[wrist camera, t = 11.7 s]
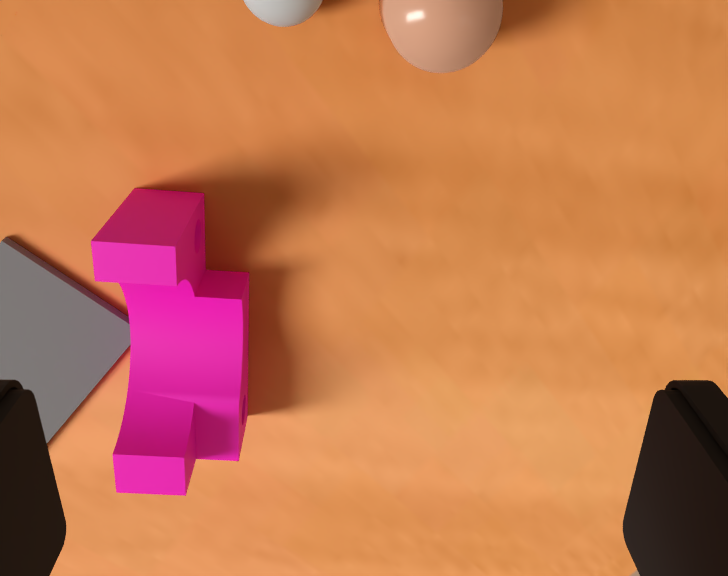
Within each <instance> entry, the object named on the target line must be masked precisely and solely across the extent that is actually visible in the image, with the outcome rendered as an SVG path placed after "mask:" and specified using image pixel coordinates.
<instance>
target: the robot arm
mask: <svg viewBox="0 0 728 576" xmlns="http://www.w3.org/2000/svg"><path fill="white" fill-rule="evenodd" d="M623 534H624V539H625V543H626V545H627V548H628V550H629V552H630V554H631V557H632V559H633V561H634V563H635V565H636V568H637V570H638V572H639V574H640V576H728V398H727V397H726V396H725V394H724V393H723V392H722V391H721V390H720V388H719V387H718V386H717V385H716V384H715V383H714V382H712V381H708V380H673V381H671V382H669V383H668V385H667V386H666V388H665V390H659V391H657V392H656V394H655V396H654V399H653V403H652V407H651V411H650V415H649V419H648V423H647V427H646V431H645V435H644V439H643V443H642V447H641V451H640V455H639V459H638V463H637V467H636V471H635V475H634V479H633V483H632V487H631V491H630V495H629V499H628V503H627V507H626V511H625V515H624V520H623ZM65 536H66V521H65V517H64V512H63V508H62V504H61V500H60V496H59V492H58V488H57V484H56V480H55V476H54V472H53V468H52V464H51V460H50V456H49V451H48V447H47V443H46V439H45V435H44V431H43V427H42V423H41V419H40V415H39V411H38V407H37V403H36V399H35V396H34V393H33V392H32V391H31V390H29V389H23V386H22V385H21V383H20V382H19V381H17V380H0V576H49V575H50V573H51V571H52V569H53V567H54V565H55V562H56V560H57V558H58V556H59V554H60V552H61V550H62V547H63V545H64V541H65Z"/></svg>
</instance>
